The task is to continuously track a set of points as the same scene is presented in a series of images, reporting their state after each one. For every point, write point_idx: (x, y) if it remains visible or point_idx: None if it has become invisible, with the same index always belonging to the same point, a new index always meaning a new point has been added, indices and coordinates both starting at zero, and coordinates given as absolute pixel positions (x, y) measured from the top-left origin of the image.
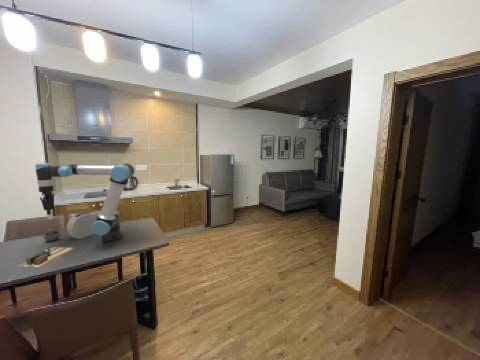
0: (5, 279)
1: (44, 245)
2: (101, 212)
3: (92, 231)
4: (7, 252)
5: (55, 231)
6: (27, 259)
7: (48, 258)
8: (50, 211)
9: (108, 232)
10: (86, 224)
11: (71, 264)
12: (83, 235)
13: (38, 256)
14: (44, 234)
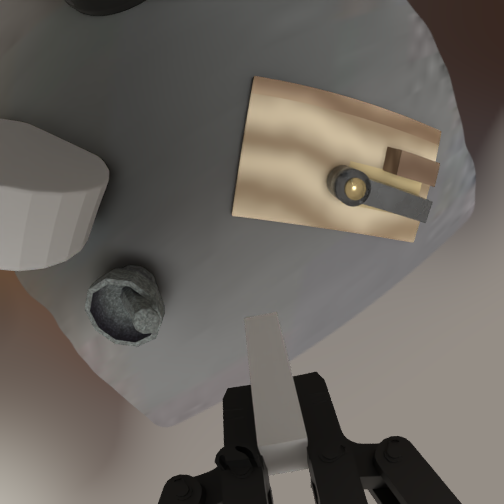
0: (466, 218)
1: (185, 292)
2: None
3: (25, 128)
4: None
5: (92, 314)
6: (425, 215)
7: (373, 152)
8: (300, 415)
9: None
10: (10, 147)
11: (414, 33)
12: (70, 148)
13: (400, 189)
14: (144, 340)
